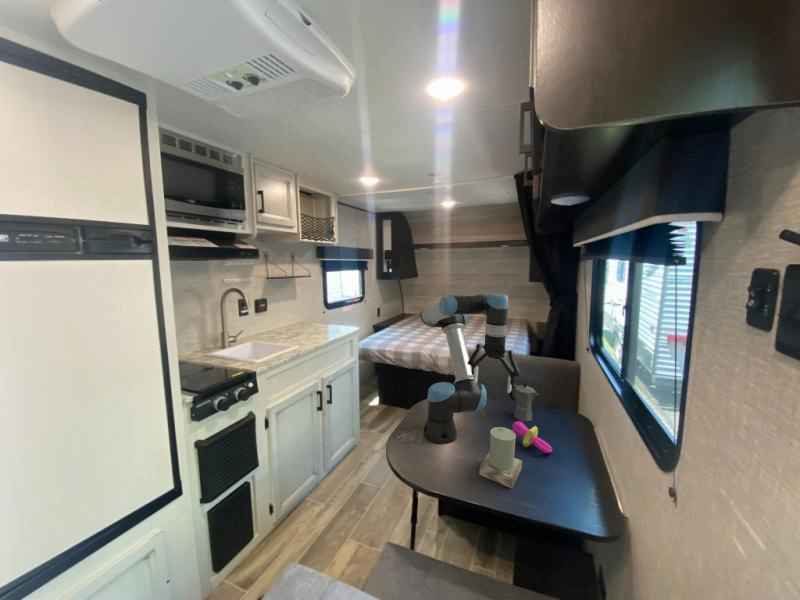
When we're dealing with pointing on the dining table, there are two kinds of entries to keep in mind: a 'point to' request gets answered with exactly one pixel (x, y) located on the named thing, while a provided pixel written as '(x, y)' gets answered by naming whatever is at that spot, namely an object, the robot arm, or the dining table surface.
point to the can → (502, 448)
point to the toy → (530, 436)
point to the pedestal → (501, 472)
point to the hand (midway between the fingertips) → (491, 387)
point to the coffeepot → (523, 402)
